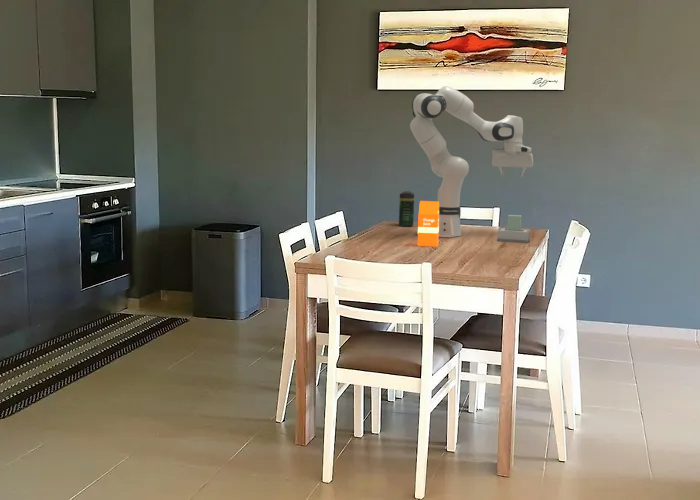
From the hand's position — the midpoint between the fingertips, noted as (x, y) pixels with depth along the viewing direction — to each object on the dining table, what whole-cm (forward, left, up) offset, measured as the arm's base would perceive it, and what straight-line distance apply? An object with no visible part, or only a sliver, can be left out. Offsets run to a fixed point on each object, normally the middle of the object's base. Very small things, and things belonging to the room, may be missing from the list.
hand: (511, 176), depth 385 cm
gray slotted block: (-2, -22, -29) cm, 37 cm away
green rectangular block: (-2, -22, -28) cm, 36 cm away
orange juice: (-45, -37, -29) cm, 65 cm away
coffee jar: (-50, +26, -29) cm, 64 cm away
